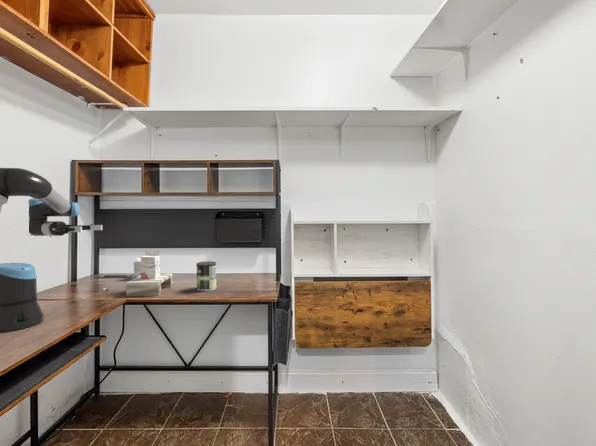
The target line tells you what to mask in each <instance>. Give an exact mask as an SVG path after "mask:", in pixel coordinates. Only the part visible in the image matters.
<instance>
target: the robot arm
mask: <svg viewBox="0 0 596 446" xmlns="http://www.w3.org/2000/svg"><path fill="white" fill-rule="evenodd" d="M9 197H31V198H30V199H29V200H28V203H29V211H28V222H29V233H30V234H31V235H30V236H33V235H34V236H35V237H37V236H38V237H45V236H49V238H52V237H53V236H55V237H57V236H58V237H59V236H60V237H61V236H65V234H69V233H82V232H83V231H103V224H93V223H91V224H89V225H87V224H86V225H85V224H83V225H80V224H79V225H77V224H67V223H66V222H64V221H55V220H54V221H53V220H52V221H50V220H49V221H48V217H50V218H51V217H55V218H56V217H70V218H71V217H77V216H79V215H80V213H81V212H80V211H81V208H80V204H79V202H73V201H72V202H71V201H69V200H67V199H66V198H65V197H64V196H63V195H62V194H60V193H59V192H58V191H57V190H56V189H54V188H53V185H52V184H51V182H50V181H49V180H48V179H46V178H45V177H43V176H42V175H40V174H38V173H36V172H33V171H31V170H28V169H24V168H19V167H0V213H1V211H2V207H3V205H5V204H7V203H8V201H9ZM34 236H33V237H34ZM37 291H38V290H37V274H36V268H35V266H34V265H33V264H31V263H26V262H4V263H2V262H1V263H0V332H3V333H4V332H12V331H18V330H22V329H27V328H31V327H33V326H36V325H38V324H40V323H43V322H44V320H45V315H44V313H43V311H42V309H41V307H40V305H39V303H38V293H37Z"/></svg>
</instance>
